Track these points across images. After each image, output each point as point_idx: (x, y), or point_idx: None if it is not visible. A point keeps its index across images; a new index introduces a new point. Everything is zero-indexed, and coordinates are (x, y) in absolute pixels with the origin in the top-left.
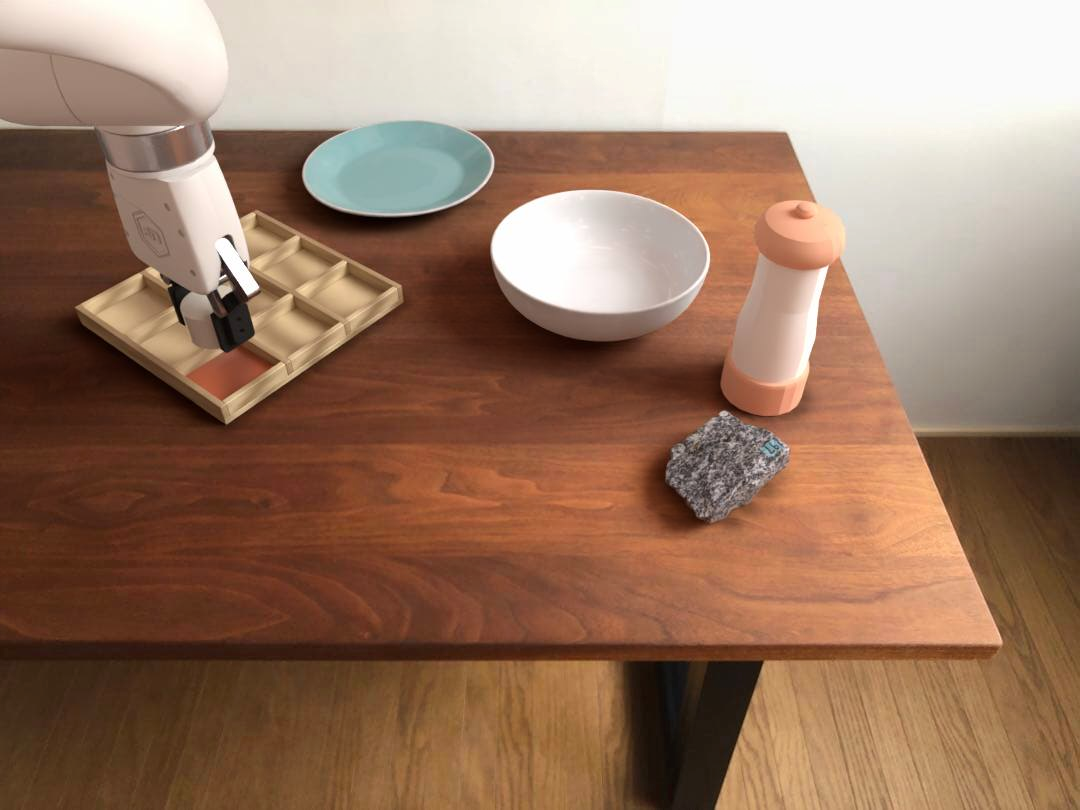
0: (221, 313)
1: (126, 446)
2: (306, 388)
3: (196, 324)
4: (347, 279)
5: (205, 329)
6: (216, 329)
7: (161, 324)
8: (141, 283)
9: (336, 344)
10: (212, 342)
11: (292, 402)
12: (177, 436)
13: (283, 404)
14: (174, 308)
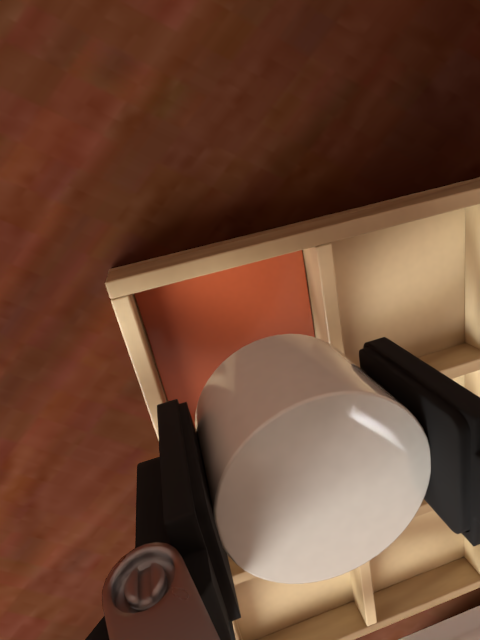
0: (105, 599)
1: (184, 30)
2: (120, 447)
3: (258, 407)
4: (342, 594)
5: (231, 417)
6: (169, 465)
7: (477, 283)
8: None
9: None
10: (213, 392)
11: (95, 411)
12: (141, 157)
13: (100, 394)
14: (422, 361)
